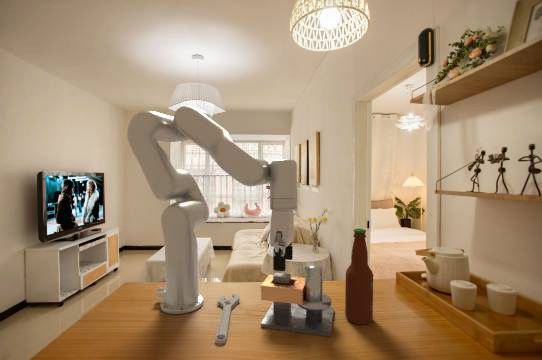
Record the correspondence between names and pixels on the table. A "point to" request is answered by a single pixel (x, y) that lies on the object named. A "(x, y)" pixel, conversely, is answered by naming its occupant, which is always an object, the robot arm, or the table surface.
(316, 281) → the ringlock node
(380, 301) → the table surface
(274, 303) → the grey rectangular block
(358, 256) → the bottle
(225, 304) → the adjustable wrench
